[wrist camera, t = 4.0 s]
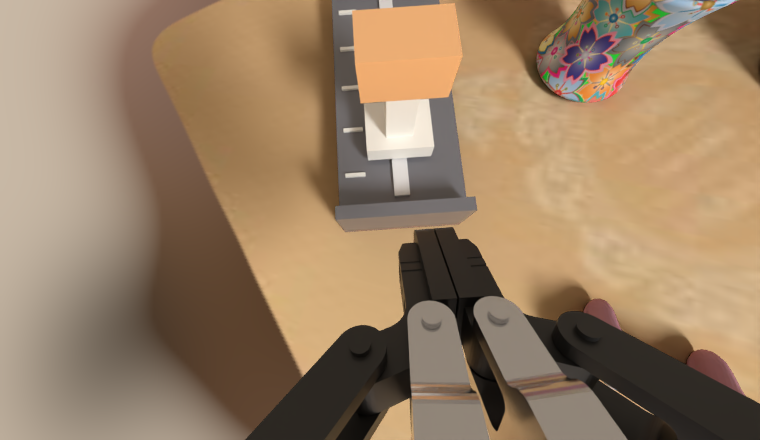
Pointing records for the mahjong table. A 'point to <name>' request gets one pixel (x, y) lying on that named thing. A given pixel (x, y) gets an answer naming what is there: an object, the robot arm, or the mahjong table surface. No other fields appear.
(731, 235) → the mahjong table surface
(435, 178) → the fader console
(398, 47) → the fader knob
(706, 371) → the pink toy animal figure
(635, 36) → the mug
